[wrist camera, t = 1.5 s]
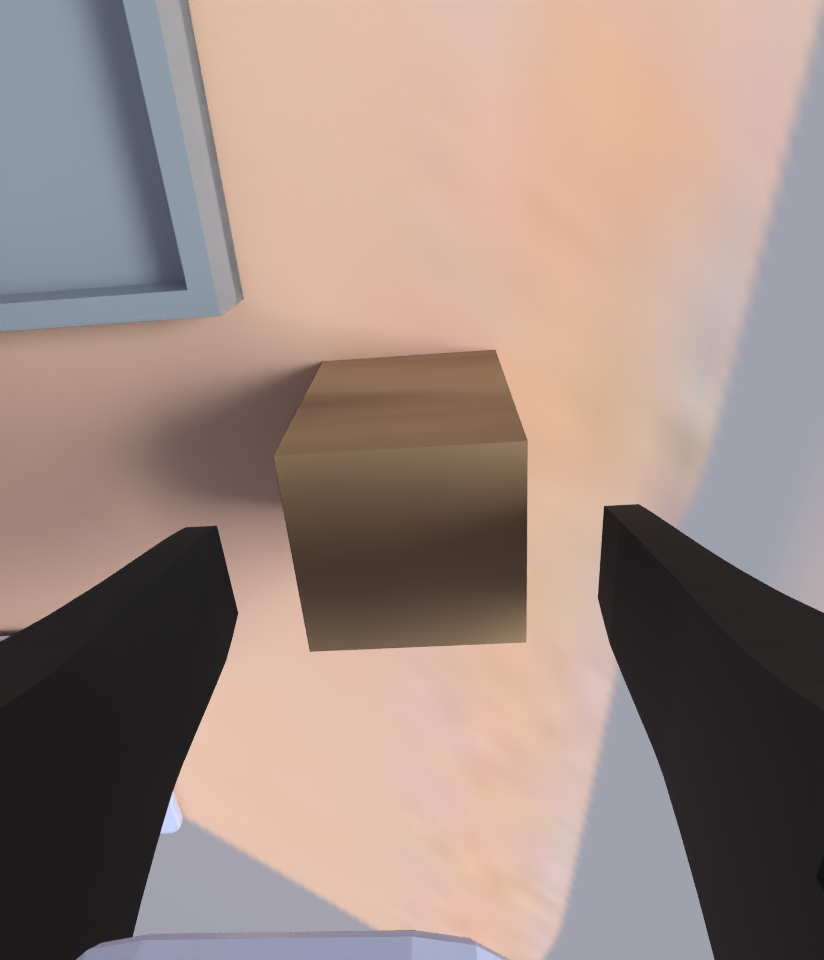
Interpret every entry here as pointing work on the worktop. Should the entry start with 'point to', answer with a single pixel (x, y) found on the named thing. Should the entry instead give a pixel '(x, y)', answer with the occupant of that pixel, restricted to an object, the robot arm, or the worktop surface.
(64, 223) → the tray
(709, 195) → the worktop surface
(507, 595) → the block
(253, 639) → the worktop surface
